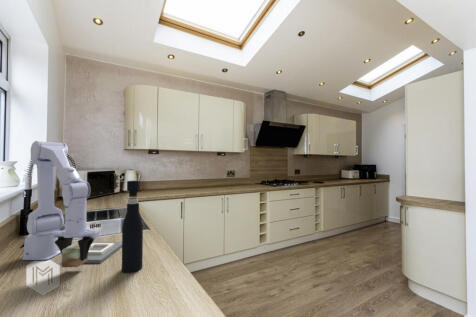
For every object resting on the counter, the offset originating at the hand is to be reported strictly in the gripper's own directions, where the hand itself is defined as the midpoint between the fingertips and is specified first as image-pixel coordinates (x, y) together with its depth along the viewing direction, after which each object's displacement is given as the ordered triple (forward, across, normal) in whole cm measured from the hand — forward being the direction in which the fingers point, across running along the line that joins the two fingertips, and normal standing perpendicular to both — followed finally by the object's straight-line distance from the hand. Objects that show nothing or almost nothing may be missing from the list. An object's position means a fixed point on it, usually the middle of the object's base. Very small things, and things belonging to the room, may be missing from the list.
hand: (75, 259), depth 74 cm
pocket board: (+4, -2, +15) cm, 16 cm away
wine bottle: (+4, +18, +2) cm, 19 cm away
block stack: (+1, 0, 0) cm, 1 cm away
